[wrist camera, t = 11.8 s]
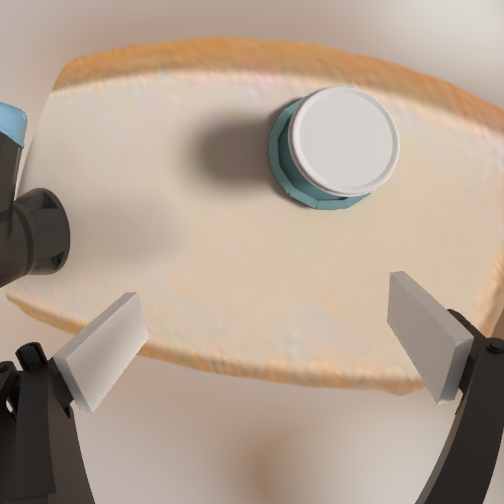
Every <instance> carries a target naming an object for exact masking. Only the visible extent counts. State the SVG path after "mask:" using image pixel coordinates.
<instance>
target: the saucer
mask: <svg viewBox="0 0 504 504" xmlns="http://www.w3.org/2000/svg"><path fill="white" fill-rule="evenodd" d="M306 97H307V96H306ZM306 97H304V98H302V99H301V100H299V101H297V102H295V103H293V104H292V105H291V106H289V107H287V108H286V109H284V110H283V112H281V114H280V116H279V117H278V119H277V120H276V122H275V124H274V126H273V128H272V130H271V133H270V135H269V143H268V156H269V162H270V167H271V170H272V171H273V174H274V176H275V178H276V179H277V181H278V183H279V184H280V185H281V187H282V188H283V189H284V190H285V191H286V192H287V194H289V195H290V196H291V197H293V198H294V199H295V200H297V201H299V202H300V203H302V204H304V205H307V206H309V207H312V208H314V209H322V210H336V209H346V208H349V207H350V206H352V205H353V204H355V203H357V202H359V201H360V200H362V199H363V198H365V197H366V196H368V195H369V194H371V192H370V193H367V194H364V195H361V196H355V197H341V196H336V195H332V194H329V193H327V192H324V191H322V190H320V189H318V188H317V187H315V186H314V185H313V184H311V183H310V182H309V181H308V180H307V179H306V178H305V177H304V176H303V175H302V174H301V172H300V171H299V170H298V168H297V167H296V165H295V163H294V161H293V159H292V156H291V153H290V149H289V144H288V129H289V124H290V120H291V118H292V115H293V113H294V111H295V110H296V108H297V107H298V105H299V104H300V103H301V102H302V101H303V100H304V99H305V98H306ZM372 192H373V191H372Z"/></svg>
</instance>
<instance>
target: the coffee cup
mask: <svg viewBox="0 0 504 504" xmlns="http://www.w3.org/2000/svg"><path fill="white" fill-rule="evenodd" d="M288 144H289V149H290V153H291V156H292V159H293V161H294V163H295V165H296V167H297V168H298V170H299V171H300V172H301V174H302V175H303V176H304V177H305V178H306V179H307V180H308V181H309V182H310V183H311V184H313V185H314V186H315V187H317V188H318V189H320V190H322V191H324V192H327V193H329V194H332V195H336V196H341V197H355V196H361V195H364V194H367V193H370V192H372V191H374V190H376V189H377V188H379V187H380V186H381V185H382V184H383V183H385V182H386V180H387V179H388V178H389V177H390V175H391V174H392V172H393V170H394V169H395V166H396V164H397V161H398V157H399V149H400V143H399V135H398V131H397V127H396V125H395V122H394V120H393V118H392V116H391V115H390V113H389V112H388V110H387V109H386V108H385V107H384V106H383V105H382V103H381V102H379V101H378V100H377V99H376V98H375V97H373V96H372V95H370V94H368V93H367V92H365V91H363V90H360V89H357V88H354V87H350V86H329V87H325V88H322V89H319V90H317V91H315V92H313V93H311V94H310V95H308V96H307V97H306V98H305V99H304V100H303V101H302V102H301V103H300V104H299V105H298V107H297V108H296V110H295V111H294V113H293V115H292V118H291V120H290V124H289V129H288Z"/></svg>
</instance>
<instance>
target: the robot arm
mask: <svg viewBox="0 0 504 504" xmlns="http://www.w3.org/2000/svg"><path fill="white" fill-rule="evenodd" d="M26 127H27V116H26V114H25V112H24V111H22V110H21V109H19V108H16V107H14V106H11V105H8V104H5V103H1V102H0V288H1V287H3V286H5V285H7V284H8V283H10V282H12V281H14V280H16V279H19V278H20V277H23V276H25V275H49V274H53V273H55V272H57V271H59V270H60V269H61V268H62V267H63V265H64V264H65V262H66V260H67V257H68V254H69V249H70V229H69V223H68V219H67V216H66V213H65V210H64V208H63V206H62V204H61V202H60V201H59V199H58V198H57V197H56V196H55V195H54V194H53V193H52V192H51V191H49V190H47V189H44V188H36V189H32V190H30V191H28V192H27V193H25V194H24V195H22V196H21V197H19V198H18V199H16V200H15V201H14V196H15V187H16V180H17V174H18V169H19V163H20V158H21V153H22V149H23V148H24V137H25V131H26ZM387 322H388V324H389V325H390V327H391V328H392V330H393V332H394V333H395V335H396V336H397V338H398V339H399V341H400V343H401V344H402V346H403V347H404V349H405V351H406V352H407V354H408V356H409V357H410V359H411V360H412V362H413V364H414V365H415V367H416V369H417V370H418V372H419V374H420V375H421V377H422V379H423V381H424V382H425V384H426V386H427V388H428V389H429V391H430V393H431V395H432V396H433V398H434V400H435V401H436V403H437V405H439V404H442V403H445V402H449V401H451V400H454V399H455V396H456V394H457V391H458V388H460V390H461V391H462V393H463V396H462V399H461V401H460V404H459V406H458V408H457V411H456V413H455V415H456V416H455V419H454V422H453V425H452V427H451V430H450V433H449V435H448V437H447V440H446V442H445V445H444V447H443V450H442V452H441V454H440V456H439V459H438V461H437V463H436V465H435V467H434V469H433V471H432V473H431V475H430V477H429V479H428V481H427V483H426V485H425V487H424V489H423V491H422V492H421V494H420V496H419V498H418V499H417V501H416V503H415V504H483V501H484V499H485V495H486V493H487V490H488V487H489V484H490V481H491V478H492V475H493V471H494V468H495V464H496V460H497V456H498V452H499V447H500V443H501V439H502V434H503V429H504V340H502V339H499V338H491V337H490V338H486V337H485V336H484V335H482V334H481V333H480V332H479V331H478V330H477V329H476V328H475V327H474V326H473V325H471V323H470V322H469V321H468V320H466V318H465V317H463V316H462V315H461V314H460V313H458V312H456V311H454V310H452V309H447V310H446V309H445V308H444V307H443V306H442V305H441V304H440V303H439V302H438V301H437V300H435V299H434V298H433V297H432V296H431V295H430V294H429V293H428V292H427V291H426V290H424V289H423V288H422V287H421V286H420V285H419V284H418V283H417V282H415V281H414V280H413V279H412V278H411V277H410V276H409V275H407V274H406V273H405V272H404V271H400V272H392V273H390V287H389V304H388V316H387ZM148 338H149V333H148V330H147V327H146V323H145V319H144V316H143V312H142V308H141V305H140V301H139V297H138V293H137V292H134V293H125V294H124V295H123V296H121V297H120V298H119V299H118V300H117V301H115V302H114V303H113V304H112V305H111V306H109V307H108V308H107V309H106V310H105V311H104V312H102V313H101V314H100V315H99V316H98V317H97V318H95V319H94V320H93V321H92V322H91V323H90V324H88V325H87V326H86V327H85V328H84V329H83V330H82V331H80V332H79V333H78V334H77V335H76V336H75V337H74V338H72V339H71V340H70V341H69V342H68V343H67V344H66V345H65V346H64V347H63V348H61V349H60V350H59V351H58V352H57V353H56V354H55V355H54V356H53V357H52V358H51V359H50V360H48V361H47V359H46V356H45V354H44V352H43V349H42V347H41V345H40V343H38V342H32V343H28V344H25V345H23V346H21V347H20V348H19V349H18V350H17V351H16V353H15V354H16V356H17V358H18V360H19V362H20V365H21V367H22V368H23V371H17V369H16V367H15V365H14V363H13V362H12V361H5V362H4V361H3V362H1V363H0V504H95V502H94V499H93V495H92V492H91V489H90V486H89V482H88V479H87V475H86V471H85V468H84V463H83V459H82V455H81V451H80V446H79V441H78V437H77V431H76V425H75V419H74V413H73V409H72V407H71V406H70V403H71V402H72V401H73V399H74V401H75V402H76V404H77V406H78V408H79V410H83V411H87V412H91V413H93V412H94V410H95V409H96V408H97V406H98V405H99V404H100V402H101V401H102V399H103V398H104V397H105V395H106V394H107V393H108V391H109V390H110V389H111V387H112V386H113V384H114V383H115V382H116V380H117V379H118V378H119V376H120V375H121V374H122V372H123V371H124V370H125V368H126V367H127V366H128V364H129V363H130V362H131V360H132V359H133V358H134V356H135V355H136V354H137V352H138V351H139V350H140V348H141V347H142V346H143V344H144V343H145V342H146V340H147V339H148ZM6 401H8V402H9V404H10V406H11V407H12V409H13V410H12V412H10V411H9V410H8V408H7V406H6Z"/></svg>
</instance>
